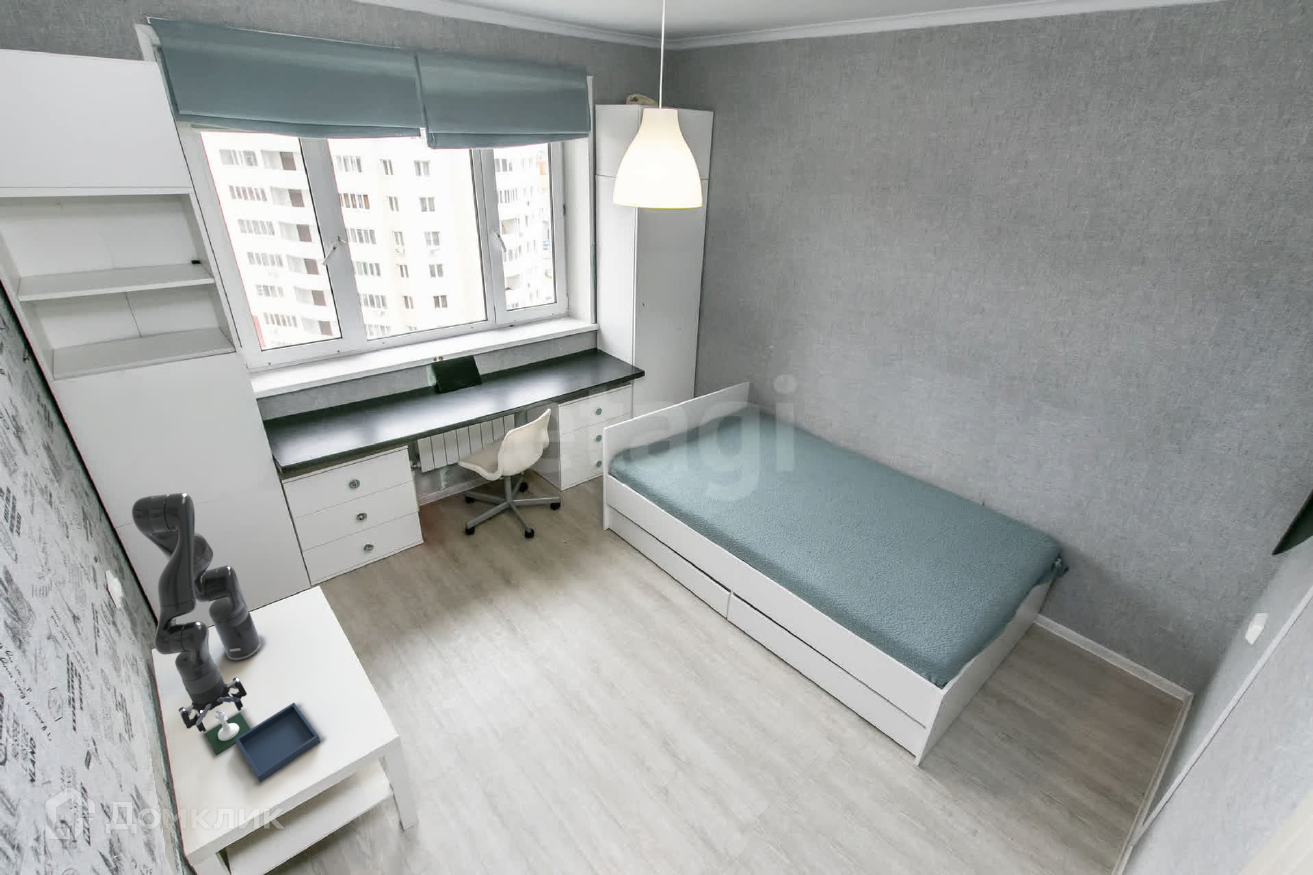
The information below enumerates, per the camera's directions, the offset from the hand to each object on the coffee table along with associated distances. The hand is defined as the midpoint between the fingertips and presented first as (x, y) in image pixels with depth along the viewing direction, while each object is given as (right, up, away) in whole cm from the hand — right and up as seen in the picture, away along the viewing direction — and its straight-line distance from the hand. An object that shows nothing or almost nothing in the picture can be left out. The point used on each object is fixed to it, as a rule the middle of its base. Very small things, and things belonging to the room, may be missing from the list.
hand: (221, 718), depth 164 cm
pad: (0, -6, +3) cm, 6 cm away
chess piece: (0, -5, +3) cm, 6 cm away
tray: (+15, -8, +2) cm, 17 cm away
